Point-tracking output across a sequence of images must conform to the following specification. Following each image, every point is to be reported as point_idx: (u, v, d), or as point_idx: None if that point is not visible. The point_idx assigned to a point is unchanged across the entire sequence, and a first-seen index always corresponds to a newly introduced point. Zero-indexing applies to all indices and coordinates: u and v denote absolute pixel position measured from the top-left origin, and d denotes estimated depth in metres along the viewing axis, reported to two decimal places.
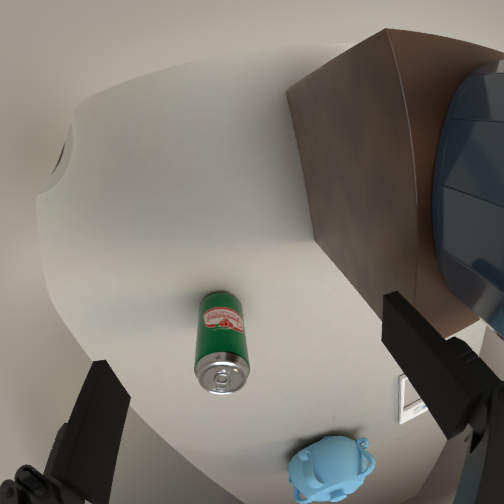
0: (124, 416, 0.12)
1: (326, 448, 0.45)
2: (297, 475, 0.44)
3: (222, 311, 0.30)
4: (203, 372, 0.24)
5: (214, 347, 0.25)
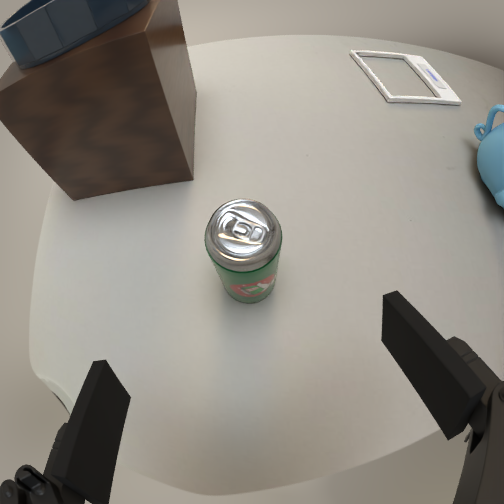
0: (124, 416, 0.12)
1: (489, 170, 0.29)
2: None
3: None
4: (226, 252, 0.18)
5: None
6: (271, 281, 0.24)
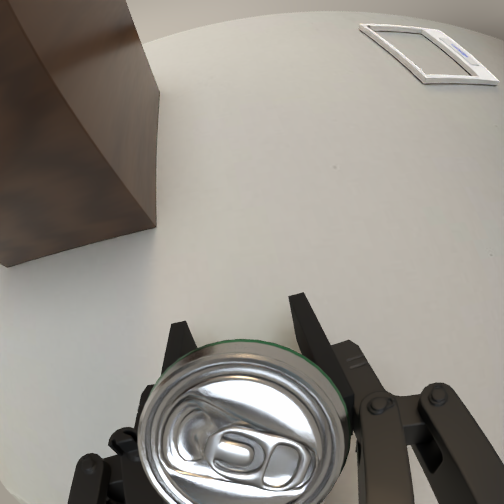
0: None
1: None
2: None
3: None
4: None
5: None
6: None
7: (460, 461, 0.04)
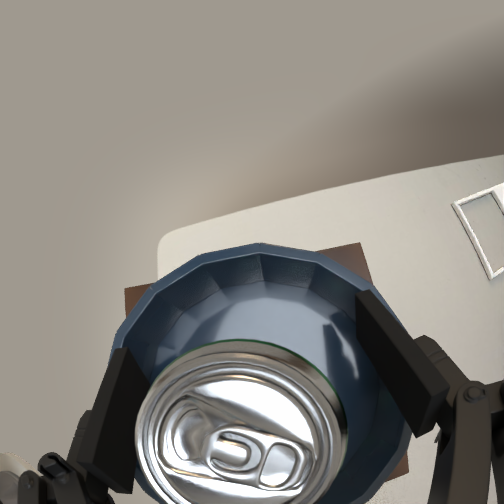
0: None
1: None
2: None
3: None
4: None
5: None
6: None
7: None
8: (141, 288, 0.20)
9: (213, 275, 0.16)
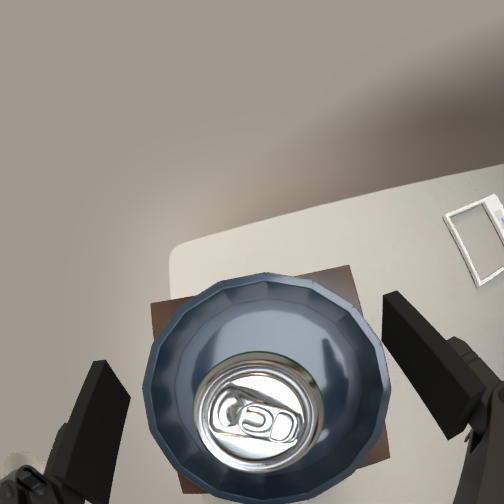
0: (124, 416, 0.12)
1: None
2: None
3: None
4: (234, 456, 0.09)
5: None
6: None
7: None
8: (165, 304, 0.24)
9: (229, 296, 0.20)
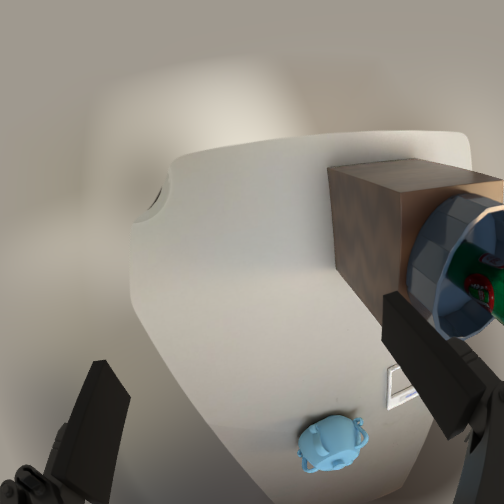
0: (124, 416, 0.12)
1: (330, 424, 0.60)
2: (307, 447, 0.59)
3: (495, 256, 0.21)
4: None
5: None
6: (475, 301, 0.23)
7: None
8: (502, 191, 0.25)
9: None
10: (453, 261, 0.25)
